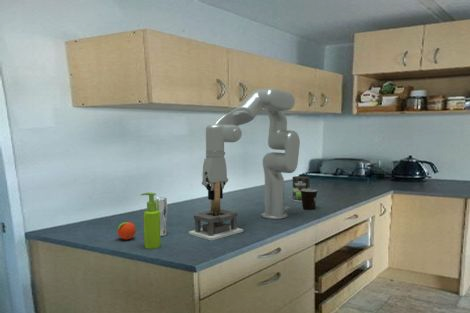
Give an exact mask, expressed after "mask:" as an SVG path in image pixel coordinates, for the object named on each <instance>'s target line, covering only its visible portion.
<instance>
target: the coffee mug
mask: <svg viewBox="0 0 470 313" xmlns="http://www.w3.org/2000/svg"><path fill="white" fill-rule="evenodd" d="M317 194H318V190H317V189H311V188H310V189H303V190H301V196H302V202H301V204H302V210H305V211H314V210H316V204H317V203H316V202H317V196H318V195H317Z"/></svg>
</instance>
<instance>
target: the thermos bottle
mask: <svg viewBox="0 0 470 313" xmlns="http://www.w3.org/2000/svg"><path fill="white" fill-rule="evenodd" d="M213 190H214V200H210V210H211V216H220V210H221V199H220V182H216V183H214V187H213Z"/></svg>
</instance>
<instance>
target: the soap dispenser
mask: <svg viewBox="0 0 470 313" xmlns="http://www.w3.org/2000/svg"><path fill="white" fill-rule="evenodd" d="M140 196H148V201H147V202H146V210H144V211H143V232H144V234H143V236H144V237H143V238H144V242H143V243H144V248H145V249H148V250H152V249H158V248H161V244H162V242H161V237H162V236H161V237H160V211H158V210H156V202H155V201H154V198H155V196H157V193H155V192H144V193H141V194H140Z"/></svg>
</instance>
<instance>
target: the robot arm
mask: <svg viewBox="0 0 470 313" xmlns="http://www.w3.org/2000/svg"><path fill="white" fill-rule="evenodd" d="M295 104H296V98H295V97H294V95H293V94H292V93H291V92H289V91H285V90H280V89H277V88H271V87H270V88H259V89H255V90H253V91H251V93H250V94H249V96H248V97H246V99H245V100H244V101H243V102H242V103H241V104H240V105H239V106H238V107H236V108H235V109H233V110H231V111H229V112H227V113H226V114H224V115H223V116H221V117H220V118H219V119H218V120H217V121H216V122H215V123H214V124H209V125H207V126H206V127H205V158H204V160H203V164H202V175H201V176H202V181H201V185H202V186H204V187H205V189H206V190H207V198H208V200H209V201H211V200H214V190H213V187H214V183H216V182H220V200H222V199H223V196H224V195H223V194H224V192H223V191H224V189H225V185H226V184H227V183H228V182H229V178H228V177H227V176H228V171H227V163H226V158H225V155H226V152H225V143H236V142H238V141H239V140H240V139H241V138H242V133H243V132H242V129H241V128H240V126H241V125H246V124H248V123H250V122H252V121H253V120H254V119H255V118H256V117H257V116H258V114H259V113H261V111H262V110H264V111H265V112H266V114H267V115H268V118H269V127H268V138H267V145H268V147H269V149H271V150H278V151H284V152H278V151H277V152H275V151H274V152H268V153H266V154H265V155H264V156H263V158H262V167H263V173H264V212H262V213H261V217H263V218H265V219H270V220H282V219H285V218H287V217H288V213H287V212H286V211H289V210H290V207H289V206H285V180H284V177H283V174H282V173H284V174H293V173H295V171H296V170H297V168H298V163H299V155H300V144H301V142H300V140H301V139H300V136H299V134H298V132H297V131H294V130H290V129H289V130H288V128H287V127H288V118H287V116H286V115H285V113H284V112H286V111H287V112H288V111H291V110H292V109H293V108H294V107H295Z"/></svg>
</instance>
